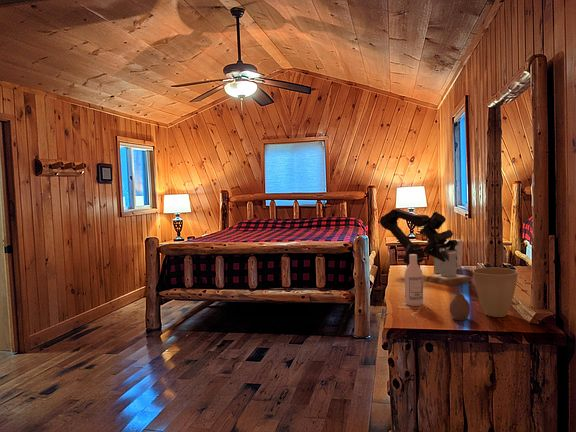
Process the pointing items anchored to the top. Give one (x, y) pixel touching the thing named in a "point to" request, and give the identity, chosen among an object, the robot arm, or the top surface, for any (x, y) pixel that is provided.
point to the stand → (449, 279)
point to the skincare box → (458, 262)
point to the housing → (448, 263)
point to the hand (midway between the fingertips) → (450, 260)
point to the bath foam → (413, 283)
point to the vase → (459, 307)
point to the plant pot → (495, 289)
